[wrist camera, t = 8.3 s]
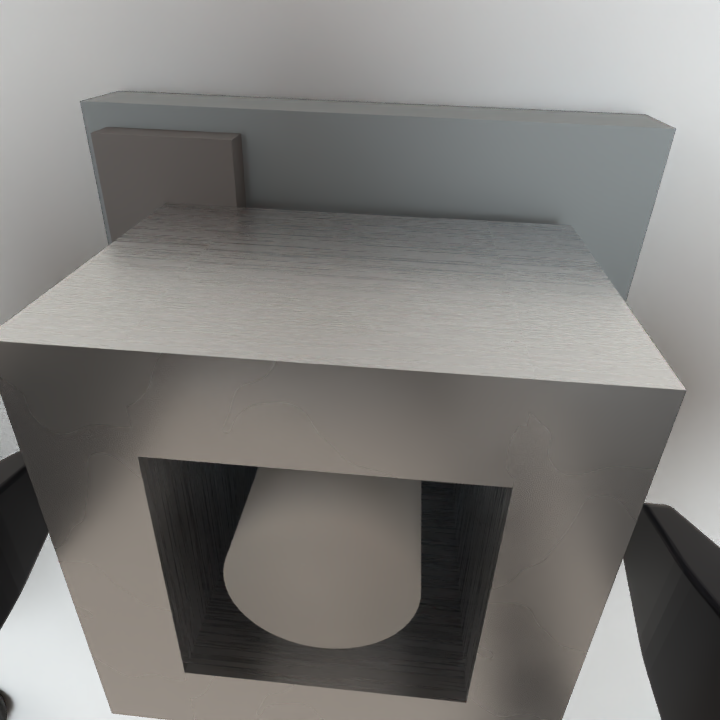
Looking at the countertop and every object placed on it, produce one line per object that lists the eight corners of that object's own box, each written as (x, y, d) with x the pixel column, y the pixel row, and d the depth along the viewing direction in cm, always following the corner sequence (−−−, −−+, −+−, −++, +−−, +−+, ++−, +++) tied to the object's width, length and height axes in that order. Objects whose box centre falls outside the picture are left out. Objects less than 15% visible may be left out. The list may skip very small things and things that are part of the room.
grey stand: (542, 509, 16) (614, 810, 10) (183, 477, 17) (47, 743, 11) (645, 114, 11) (927, 244, 5) (118, 90, 11) (-219, 178, 5)
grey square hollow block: (506, 522, 13) (545, 762, 9) (207, 497, 14) (111, 713, 10) (570, 224, 10) (686, 389, 6) (165, 203, 10) (-19, 340, 6)
